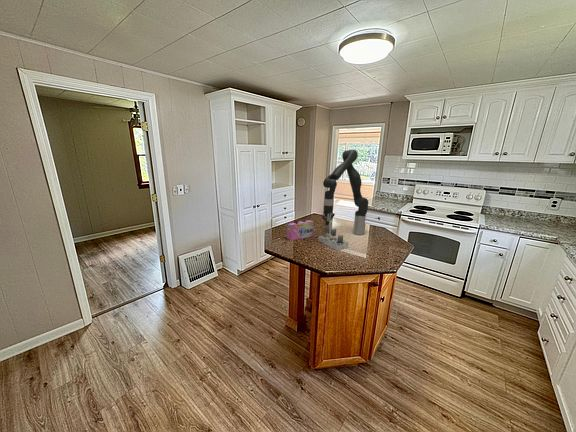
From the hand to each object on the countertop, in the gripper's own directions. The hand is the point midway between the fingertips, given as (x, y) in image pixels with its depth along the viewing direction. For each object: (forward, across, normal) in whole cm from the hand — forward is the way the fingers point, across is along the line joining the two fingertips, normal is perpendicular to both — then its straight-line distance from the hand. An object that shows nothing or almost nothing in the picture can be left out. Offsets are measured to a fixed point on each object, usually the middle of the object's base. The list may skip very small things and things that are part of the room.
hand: (327, 225), depth 188 cm
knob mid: (+6, 0, +8) cm, 10 cm away
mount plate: (+13, 0, +8) cm, 16 cm away
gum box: (+14, +14, -18) cm, 27 cm away
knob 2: (+10, 0, +16) cm, 19 cm away
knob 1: (+6, 0, 0) cm, 6 cm away
